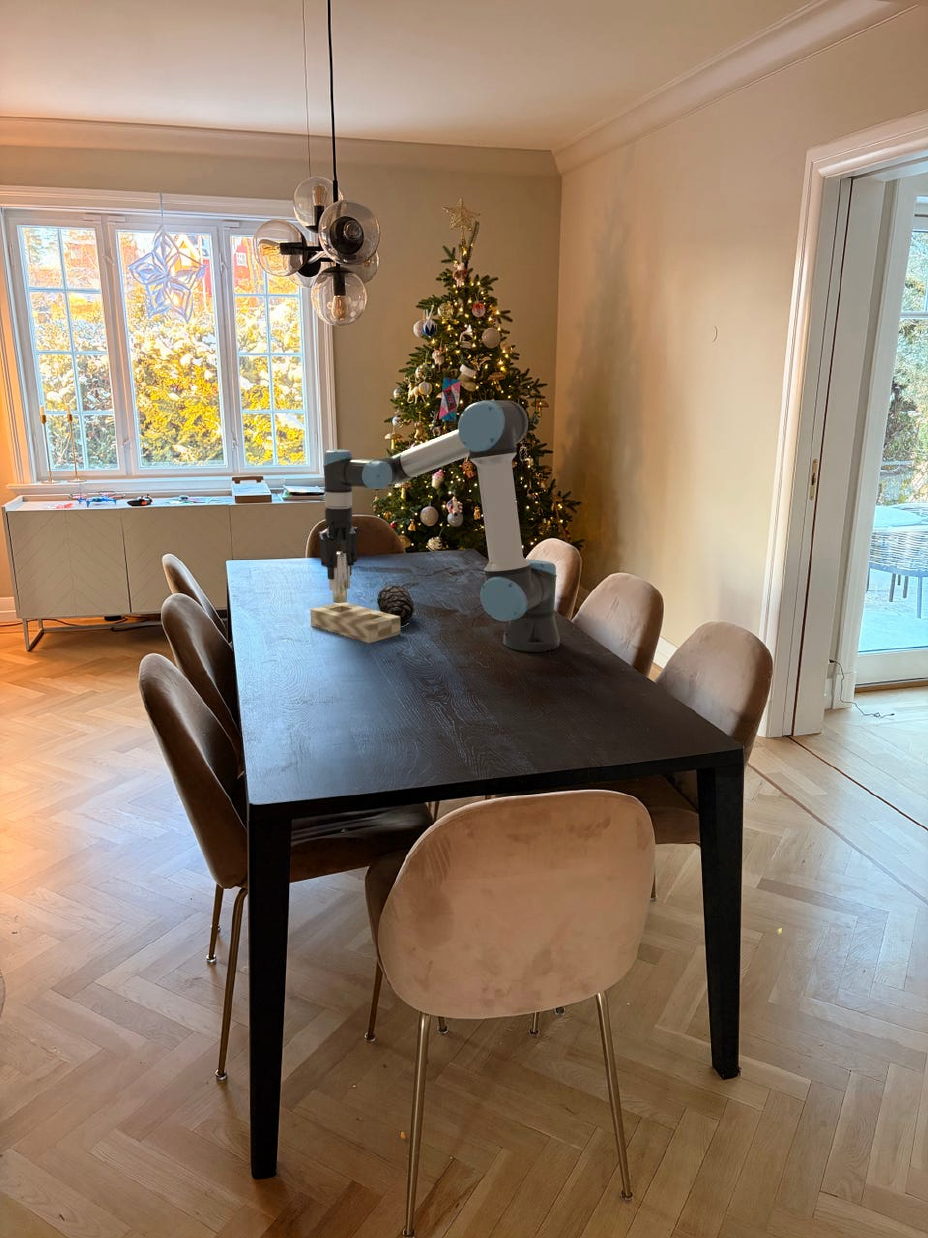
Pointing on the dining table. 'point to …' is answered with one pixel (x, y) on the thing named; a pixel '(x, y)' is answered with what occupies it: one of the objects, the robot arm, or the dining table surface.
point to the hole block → (355, 621)
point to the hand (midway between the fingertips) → (339, 588)
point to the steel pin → (341, 578)
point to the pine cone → (396, 603)
